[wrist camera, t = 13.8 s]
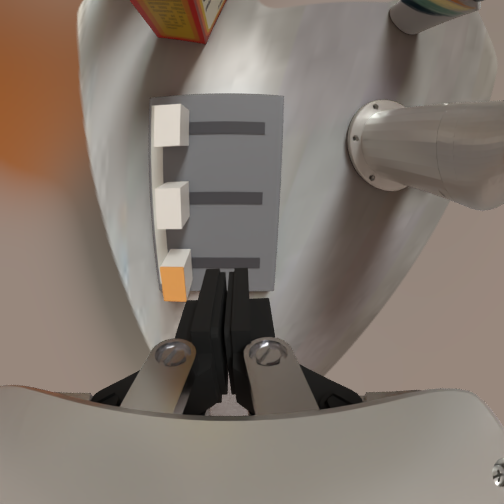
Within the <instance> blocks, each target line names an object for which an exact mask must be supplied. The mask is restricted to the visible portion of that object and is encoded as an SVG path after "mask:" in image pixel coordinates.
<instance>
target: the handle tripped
mask: <svg viewBox="0 0 504 504" xmlns="http://www.w3.org/2000/svg"><path fill="white" fill-rule="evenodd" d="M160 274H161V281H162V289H163V296H164V301H177V302H186V301H187V298H188V294H189V291H190V287H191V283H192V280H193V276H192V261H191V249H170V251H169V252H168V254H167V256H166V258H165V259H164V261H163V263H162V265H161V266H160Z"/></svg>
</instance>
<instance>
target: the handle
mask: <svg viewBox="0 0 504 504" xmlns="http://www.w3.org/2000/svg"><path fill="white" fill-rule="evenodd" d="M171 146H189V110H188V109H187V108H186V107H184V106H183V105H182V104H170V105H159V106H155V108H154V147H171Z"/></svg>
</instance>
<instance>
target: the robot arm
mask: <svg viewBox="0 0 504 504" xmlns="http://www.w3.org/2000/svg"><path fill="white" fill-rule="evenodd" d="M373 107H374V108H373ZM353 137H354V138H355V139H354V140H353ZM347 142H348V151H349V155H350V159H351V161H352V163H353V166H354V168H355V169H356V171H357V172H358V174H359V175H360V176H361V177H362V178H363V179H364V180H365V181H366V182H367V183H369V184H370V185H372V186H374V187H376V188H378V189H381V190H385V191H398V190H401V189H404V188H406V187H407V186H411V187H414V188H417V189H420V190H423V191H426V192H429V193H432V194H434V195H437V196H440V197H443V198H446V199H448V200H451V201H454V202H456V203H459V204H461V205H464V206H466V207H469V208H472V209H475V210H482V211H484V210H491V209H494V208H497V207H499V206H501V205H502V204H504V100H502V101H482V102H461V103H445V104H433V105H424V106H415V107H407V108H406V107H404V106H403V105H401V104H400V103H397V102H395V101H392V100H386V99H385V100H376V101H372V102H369V103H367V104H365V105H364V106H363V107H361V108H360V109H359V110H358V111H357V112H356V114H355V115H354V117H353V119H352V121H351V123H350V126H349V130H348V138H347ZM369 176H370V178H369ZM228 370H229V378H230V385H231V393H232V394H236V400H237V403H239V404H240V405H241V406H243V407H244V408H246V409H247V410H248V416H210V407H212V406H213V405H214V404H216V403H221V402H222V394H227V391H228ZM0 504H504V427H503V425H502V424H501V422H500V421H499V419H498V418H497V416H496V415H495V414H494V412H493V411H492V410H491V408H490V407H489V406H488V405H487V404H486V403H485V401H483V400H482V399H481V398H480V397H479V396H477V395H476V394H474V393H472V392H470V391H466V390H462V389H441V388H440V389H429V390H410V391H396V392H369V393H367V392H366V394H365V396H359V395H358V394H357V393H355V392H354V391H352V390H350V389H348V388H346V387H344V386H342V385H340V384H337V383H336V382H333V381H331V380H329V379H327V378H325V377H323V376H321V375H319V374H317V373H315V372H313V371H311V370H309V369H307V368H306V367H304V366H302V365H300V364H299V363H298V361H297V359H296V356H295V354H294V352H293V350H292V348H291V347H290V345H289V344H288V343H286V342H285V341H284V340H281V339H278V338H275V333H274V327H273V321H272V314H271V308H270V302H269V298H260V299H249V281H248V268H234V272H229V280H228V290H227V285H226V274H225V272H220V269H206V271H205V275H204V279H203V283H202V286H201V290H200V294H199V298H198V300H188V301H186V304H185V307H184V310H183V313H182V317H181V320H180V323H179V326H178V330H177V333H176V336H175V338H173V339H168V340H165V341H162V342H160V343H159V344H157V345H156V346H155V347H154V348H153V349H152V351H151V352H150V354H149V356H148V358H147V359H146V361H145V363H144V364H143V366H142V368H141V370H139V371H138V372H136V373H134V374H132V375H130V376H128V377H126V378H124V379H122V380H120V381H118V382H116V383H114V384H112V385H110V386H109V387H106V388H104V389H102V390H101V391H99V392H98V393H96V394H95V395H94V396H92V395H91V393H62V392H51V391H47V390H43V389H38V388H34V387H28V386H21V385H4V386H0Z"/></svg>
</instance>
